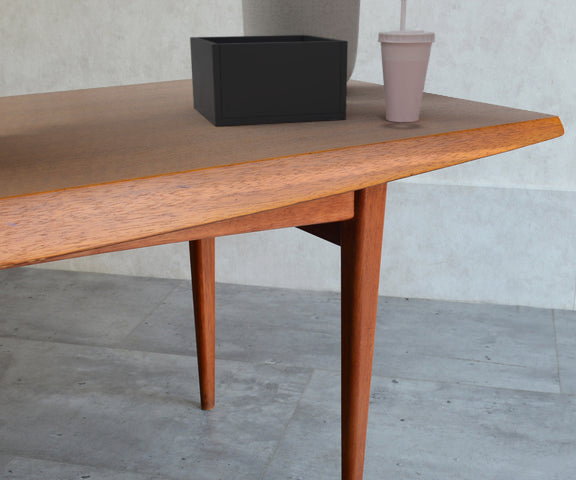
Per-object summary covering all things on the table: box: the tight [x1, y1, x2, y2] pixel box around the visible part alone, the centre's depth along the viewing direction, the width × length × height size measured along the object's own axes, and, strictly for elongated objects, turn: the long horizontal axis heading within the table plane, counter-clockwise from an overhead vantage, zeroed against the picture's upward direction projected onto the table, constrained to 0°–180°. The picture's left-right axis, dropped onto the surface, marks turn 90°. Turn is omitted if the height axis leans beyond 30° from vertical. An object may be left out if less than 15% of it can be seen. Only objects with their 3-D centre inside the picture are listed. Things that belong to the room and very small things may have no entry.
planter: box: [241, 0, 361, 83], centre depth 107 cm, size 17×17×15 cm
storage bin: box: [189, 35, 348, 127], centre depth 90 cm, size 16×16×9 cm
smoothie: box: [377, 0, 436, 123], centre depth 84 cm, size 6×6×14 cm
